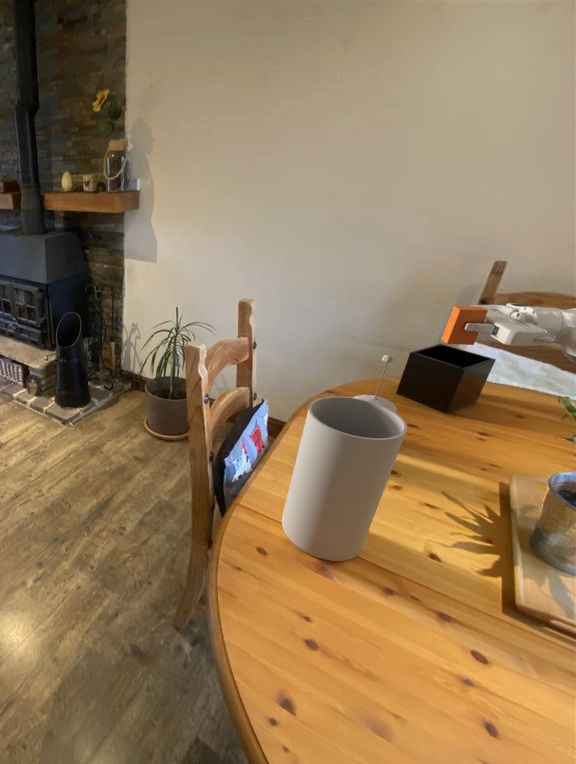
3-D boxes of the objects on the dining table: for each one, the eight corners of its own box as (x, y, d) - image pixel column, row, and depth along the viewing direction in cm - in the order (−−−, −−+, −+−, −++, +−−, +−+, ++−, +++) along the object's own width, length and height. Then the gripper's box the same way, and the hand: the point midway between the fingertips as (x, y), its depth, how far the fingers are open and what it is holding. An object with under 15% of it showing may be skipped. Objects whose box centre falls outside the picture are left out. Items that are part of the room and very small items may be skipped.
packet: (467, 340, 106) (481, 306, 102) (473, 345, 103) (488, 310, 99) (441, 339, 107) (454, 305, 103) (446, 343, 105) (460, 309, 101)
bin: (476, 402, 110) (496, 359, 104) (446, 414, 106) (465, 369, 100) (424, 383, 120) (440, 343, 114) (395, 393, 116) (410, 352, 110)
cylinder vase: (361, 524, 76) (403, 406, 65) (360, 575, 67) (411, 449, 55) (285, 501, 82) (312, 390, 71) (275, 545, 73) (305, 425, 62)
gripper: (555, 354, 92) (478, 351, 96) (500, 324, 109) (437, 322, 113) (569, 327, 89) (489, 325, 93) (511, 301, 106) (445, 299, 110)
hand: (460, 323), depth 103 cm, fingers closed on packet, 3 cm apart
